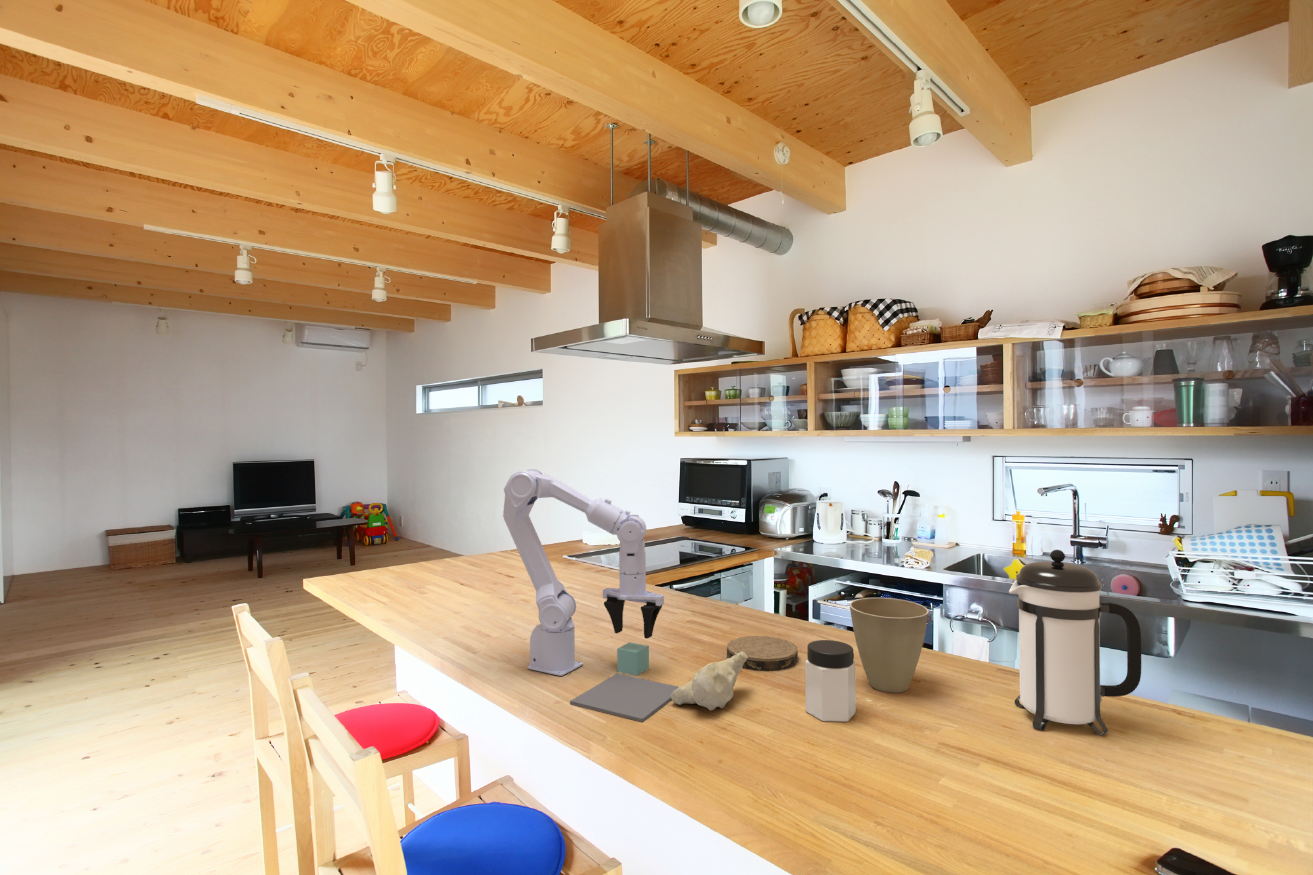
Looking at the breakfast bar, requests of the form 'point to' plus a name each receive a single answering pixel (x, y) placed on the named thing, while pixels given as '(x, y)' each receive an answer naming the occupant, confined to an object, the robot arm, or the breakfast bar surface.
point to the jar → (830, 681)
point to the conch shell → (711, 683)
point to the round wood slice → (764, 652)
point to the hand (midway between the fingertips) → (633, 634)
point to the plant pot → (889, 640)
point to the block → (633, 658)
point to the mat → (626, 697)
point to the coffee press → (1067, 644)
